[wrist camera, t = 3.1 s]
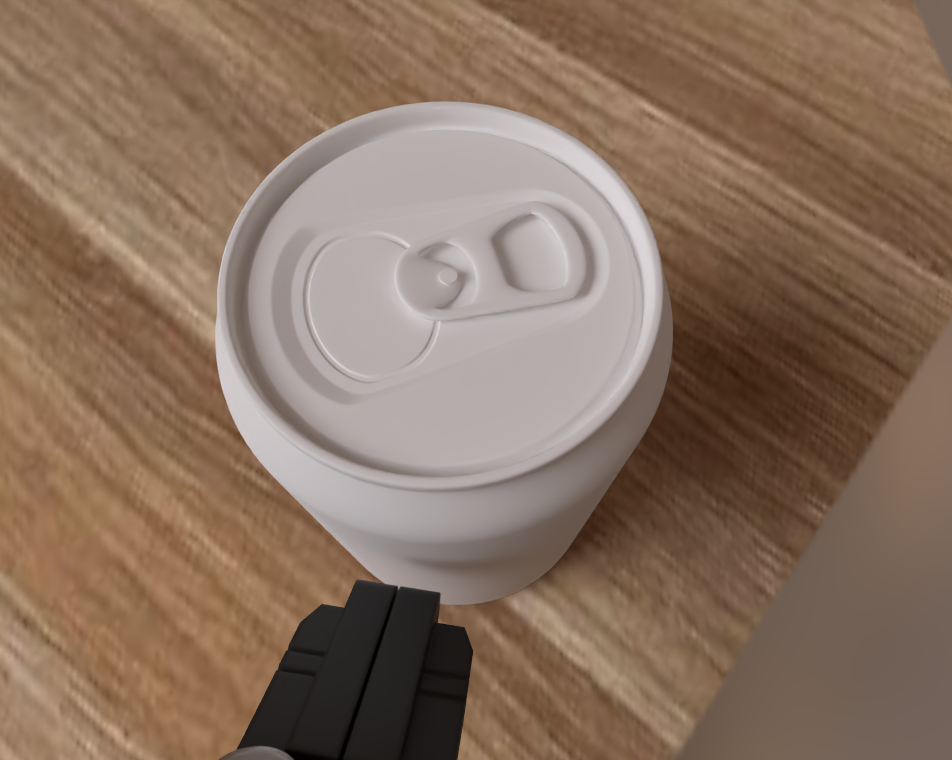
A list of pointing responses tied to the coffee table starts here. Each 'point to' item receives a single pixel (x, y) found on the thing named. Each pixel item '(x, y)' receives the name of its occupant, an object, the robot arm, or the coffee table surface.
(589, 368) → the beverage can
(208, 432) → the coffee table surface
